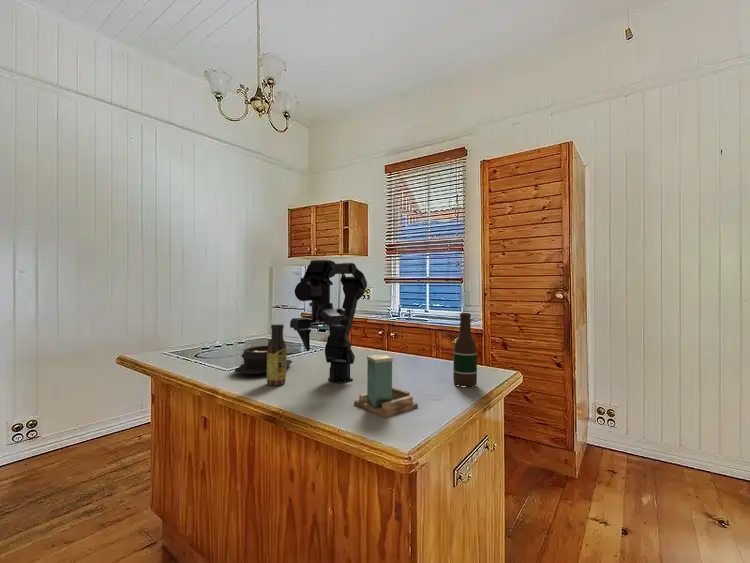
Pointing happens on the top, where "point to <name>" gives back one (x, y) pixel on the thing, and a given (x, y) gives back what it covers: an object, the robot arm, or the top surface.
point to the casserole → (256, 361)
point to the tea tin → (379, 380)
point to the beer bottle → (465, 355)
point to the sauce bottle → (276, 357)
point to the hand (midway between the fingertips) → (320, 349)
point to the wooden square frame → (390, 403)
